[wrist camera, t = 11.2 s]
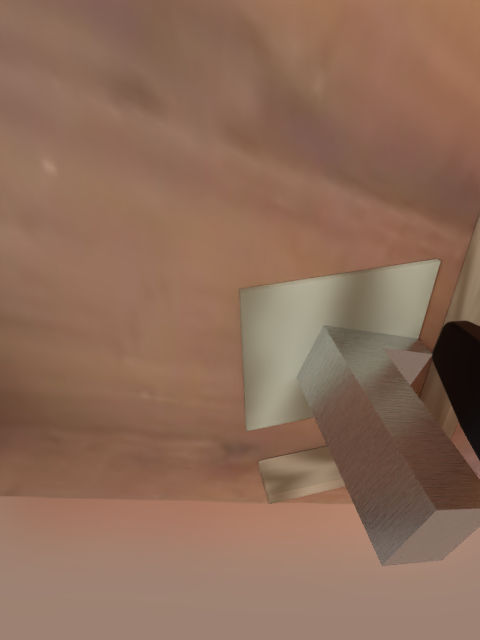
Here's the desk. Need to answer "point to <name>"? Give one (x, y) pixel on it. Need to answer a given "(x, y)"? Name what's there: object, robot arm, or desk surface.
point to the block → (390, 444)
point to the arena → (346, 312)
